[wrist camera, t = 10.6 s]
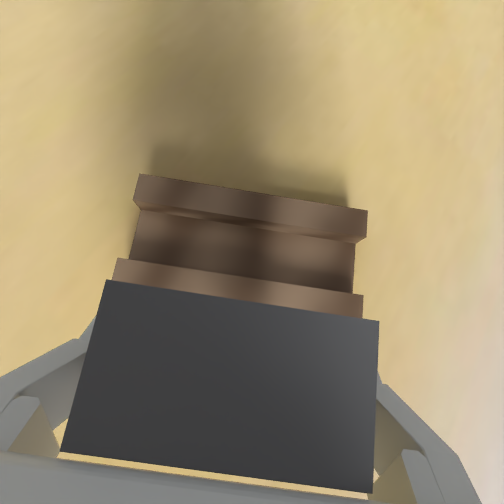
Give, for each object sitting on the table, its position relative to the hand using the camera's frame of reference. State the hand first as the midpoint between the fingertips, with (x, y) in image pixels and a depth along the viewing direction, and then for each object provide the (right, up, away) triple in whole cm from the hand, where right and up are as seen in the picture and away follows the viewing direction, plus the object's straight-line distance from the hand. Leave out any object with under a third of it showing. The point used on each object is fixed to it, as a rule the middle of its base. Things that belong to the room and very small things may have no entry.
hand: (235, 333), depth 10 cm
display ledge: (0, +2, +15) cm, 15 cm away
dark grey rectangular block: (0, -2, +5) cm, 6 cm away
